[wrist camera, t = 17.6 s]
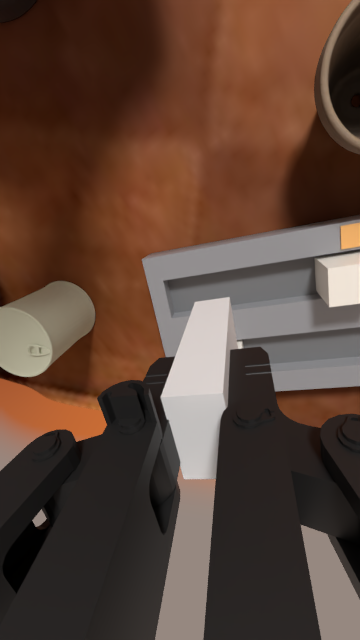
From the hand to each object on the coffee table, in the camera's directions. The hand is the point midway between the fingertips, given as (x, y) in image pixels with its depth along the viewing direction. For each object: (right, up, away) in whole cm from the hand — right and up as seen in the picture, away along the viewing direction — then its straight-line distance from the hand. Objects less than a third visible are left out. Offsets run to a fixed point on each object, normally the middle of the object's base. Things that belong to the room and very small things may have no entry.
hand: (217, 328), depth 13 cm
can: (-19, +2, +33) cm, 38 cm away
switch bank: (+11, +2, +27) cm, 29 cm away
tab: (+17, +6, +22) cm, 28 cm away
